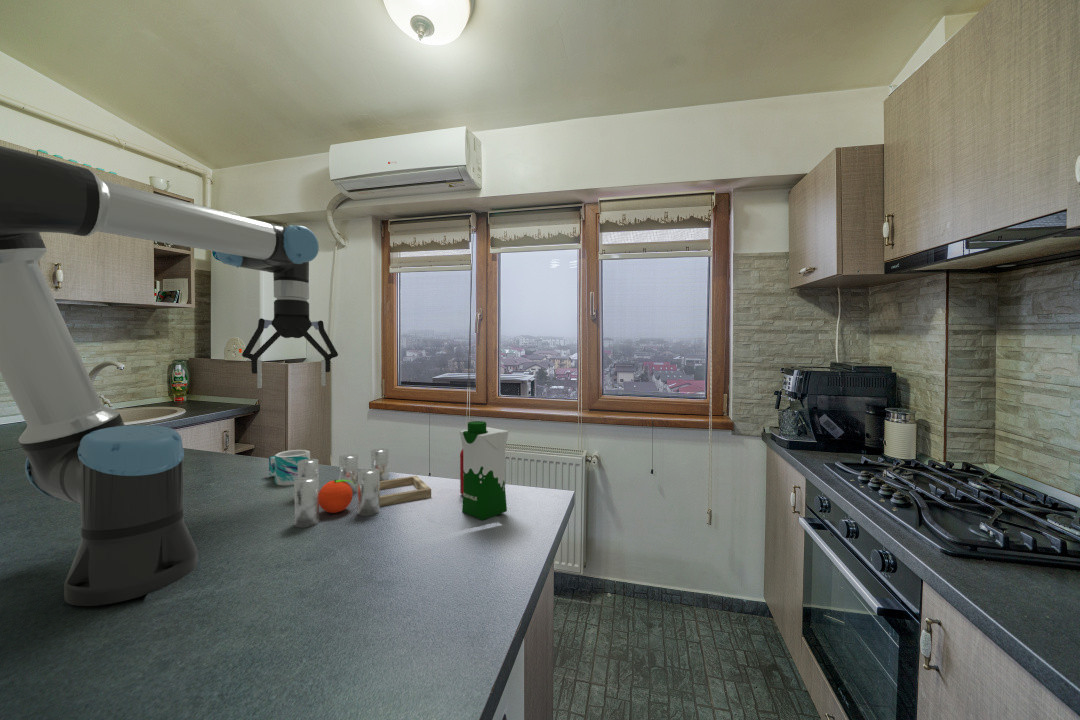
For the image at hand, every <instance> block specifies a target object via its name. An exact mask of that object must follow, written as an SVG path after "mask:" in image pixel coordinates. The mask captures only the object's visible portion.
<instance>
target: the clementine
mask: <svg viewBox="0 0 1080 720" xmlns="http://www.w3.org/2000/svg"><path fill="white" fill-rule="evenodd" d="M345 481H348V482H351V481H349V480H339V479H333V480H330V481H328V482H326V483H325V484H324V485H322V487H321V488H320V489H319V508H321V509H322V510H323V511H324V512H327V513H332V514H337V513H340V512H342V511H344V510H345V509H346V508H348V507H349V505H350V504H351V502H352V500H353V495H354V493H353V492H352V488H351V486H350V485H349V484H348V483H347V482H345ZM352 483H353V482H352ZM355 485H356V484H355ZM356 487H357V486H356Z"/></svg>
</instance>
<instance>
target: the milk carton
mask: <svg viewBox="0 0 1080 720" xmlns="http://www.w3.org/2000/svg"><path fill="white" fill-rule="evenodd" d="M459 435H460V440H461V446H462V449H463V495H462V505H461V506H462V507H461V511H462V513H464V514H466V515H468V516H470V517H473V518H475V519H478V520H480V521H485V520H487V519H489V518H492V517H495V516H497V515H501V514H503V513H506V512H508V507H507V494H506V446H507V441H508V436H509V430H507V429H506V430H505V429H500V428H495V427H494V428H493V427H488V426H487V422H486V421H483V420H481V421H478V420H476V421H475V420H474V421H473V420H472V421H469V422H467V429H465V430H464V429H463V430H460V431H459Z"/></svg>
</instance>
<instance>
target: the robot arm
mask: <svg viewBox="0 0 1080 720" xmlns="http://www.w3.org/2000/svg"><path fill="white" fill-rule="evenodd" d="M97 232H98V233H105V234H110V235H118V236H122V237H129V238H135V239H140V240H146V241H151V242H158V243H164V244H169V245H175V246H180V247H186V248H187V247H188V248H193V249H199V250H205V251H210V252H211V251H212V252H215V254H216V257H217V259H218V260H219V261H220V262H221V263H222V264H224V265H229V266H232V267H236V268H244V269H248V270H249V269H250V270H255V271H262V272H267V273H272V277H273V298H275V300H274V301H273V319H272V320H270V319H264V318H259V320H258V322H257V323H258V324H257V328H256V329H255V330H254V331H255V332H254V333H253V335H252V337H251V338H250V340H249V341H248V343H247V345H246V346H245V348H244V350H243V351H242V354H241V356H242V357H243V358H245V359H248V360H250V361H251V365H250V366H251V373H252V375H254V374H256V378H257V379H256V380H257V382H256V383H257V389H261V388H263V386H262V385H263V384H262V383H263V380H262V376H263V375H262V372H263V369H262V359H261V360H260V359H259V358H260V357H261V356H262V355H263V354H264V353H265V352H266V351H267V350H268V349H269V348H271V346H272V345H273V344H274V343H275V342H276V341H277V340H278V339H279V338H280V337H282V338H284V339H289V338H294V339H300V338H304V339H305V340H306V341H307V342H308V343H309V344H310V345H311V346H312V347H313V348H314V349H315V350H316V351H317V352H318V353H319V354H320V356H322V357H323V359H320V366H321V367H320V371H321V377H320V378H321V379H320V380H321V381H320V383H321V387H324V386H325V387H326V385H327V384H326V383H327V380H326V377H327V376H326V373H330V372H331V360H332V359H334V358H337V357H338V356H339V353H338V351H337V350H336V348H335V346H334V344H333V342H332V340H331V339H330V337H329V335H328V333H327V332H326V331H327V330H325V325H324V321H323V320H319V321H317V320H316V321H312V320H310V302H309V301H307V300H309V299H310V279H309V278H310V262H311V261H313V260H315V259H316V257H317V256H318V254H319V250H320V249H319V248H320V247H319V241H318V239H317V237H316V235H315V234H314V232H313V231H312V230H311V229H309V228H308V227H307V226H303V225H294V224H292V225H288V226H282V225H280V224H275V223H272V222H268V221H267V222H265V221H264V220H263V221H262V220H258V219H255V218H252V217H251V218H249V217H247V216H243V215H238V214H235V213H230V212H227V211H224V210H219V209H216V208H213V207H207V206H204V205H200V204H196V203H193V202H188V201H185V200H181V199H178V198H173V197H169V196H166V195H162V194H158V193H153V192H150V191H146V190H141V189H138V188H134V187H130V186H126V185H122V184H120V183H119V184H118V183H115V182H111V181H107V180H104V179H100V178H99V176H98V175H97V174H96V173H95V172H94V171H93V170H92V169H89V168H86V167H82V166H79V165H75V164H70V163H67V162H63V161H61V160H60V161H59V160H56V159H52V158H48V157H45V156H42V155H38V154H34V153H30V152H27V151H22V150H18V149H14V148H10V147H6V146H1V145H0V375H1V377H2V379H3V381H4V383H5V384H6V387H7V388H8V391H9V392H10V394H11V396H12V398H13V400H14V402H15V404H16V405H17V408H18V411H19V412H20V414H21V416H22V418H23V419H24V421H25V423H26V428H25V430H24V431H23V432H22V433H21V435H20V436H19V438H18V443H19V444H20V446H21V448H22V450H23V452H24V453H25V456H26V460H25V464H24V471H25V475H26V478H27V479H28V481H29V482H30V484H31V485H32V486H33V487H34V488H35V489H36V490H37V491H38V492H39V493H41V494H43V495H46V496H48V497H50V498H52V499H56V500H59V501H60V500H61V501H67V502H70V503H73V504H77V505H80V543H79V546H78V548H77V551H76V553H75V555H74V558H73V561H72V563H71V565H70V569H69V570H68V573H67V576H66V578H65V581H64V587H63V590H64V591H63V597H64V601H65V602H66V603H67V604H69V605H72V606H77V607H78V606H79V607H94V606H95V607H96V606H104V605H105V606H106V605H111V604H117V603H120V602H121V603H122V602H124V601H129V600H132V599H136V598H140V597H143V596H145V595H148V594H150V593H152V592H155V591H157V590H159V589H163V588H164V587H167V586H169V585H172V584H174V583H175V582H178V581H179V580H181V579H183V578H184V577H186V576H187V575H189V574H190V573H192V572H193V571H194V570H195V569H196V567H197V566H198V563H199V557H198V556H199V554H198V553H199V552H198V548H197V545H196V544H195V542H194V540H193V537H192V535H191V532H190V531H189V529H188V526H187V524H186V522H185V519H184V518H185V517H184V457H185V449H184V447H183V439H182V436H181V434H180V433H179V432H178V431H177V430H175V429H173V428H170V427H167V426H161V425H147V424H145V425H144V424H134V425H133V424H132V425H129V424H128V425H125V423H124V420H123V418H122V416H121V413H120V411H119V410H117V409H114V408H110V407H107V406H104V405H103V404H102V401H101V399H100V397H99V395H98V393H97V390H96V388H95V386H94V384H93V381H92V379H91V377H90V374H89V372H88V370H87V368H86V366H85V364H84V361H83V359H82V357H81V355H80V352H79V350H78V348H77V346H76V344H75V341H74V340H73V337H72V335H71V333H70V331H69V328H68V327H67V324H66V322H65V319H64V318H63V315H62V313H61V311H60V309H59V306H58V304H57V302H56V299H55V297H54V295H53V293H52V291H51V289H50V287H49V284H48V282H47V281H46V277H45V276H44V273H43V271H42V269H41V267H40V264H39V263H40V260H41V259H42V258H43V257H44V255H45V254H46V253H47V252H48V249H47V247H46V245H45V243H44V241H43V238H42V234H41V233H55V234H67V235H68V234H69V235H75V236H80V237H90V236H91V235H94V234H95V233H97ZM270 325H271V326H272V327H273V328H274V329H275V332H274V333H273V334H272V335H271V337H269V338H268V339H267V340H266V341H265V343H263V345H261V347H259V348H258V349H257V350H256V351H255V352H254V353H252V351H253V349H254V348H255V346H256V345H257V342H258V341H259V339H260V337H261V336H262V334H263V332H264V330H265V329H268V328H269V326H270ZM311 327H314V330H316V331H318V333H319V335H320V336H321V338H322V341H324V344H325V346H326V347H327V349H328V351H329V353H328V352H327V351H326V350H325V349H324V348H323V347H322V346H321V345H320V343H318V342H317V340H315V339H314V337H312V335H311V334H310V333H309V332H308V331H309V330H310V328H311Z"/></svg>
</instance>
